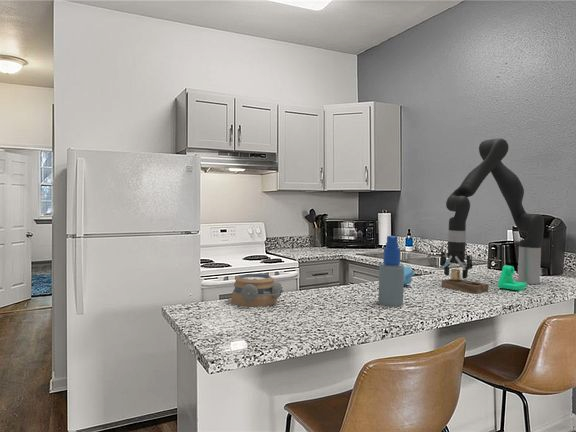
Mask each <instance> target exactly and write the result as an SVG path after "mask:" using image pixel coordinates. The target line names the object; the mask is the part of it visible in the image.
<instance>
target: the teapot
mask: <svg viewBox="0 0 576 432" xmlns="http://www.w3.org/2000/svg"><path fill="white" fill-rule="evenodd" d="M381 263H383V262H381ZM400 264H402V263H401V262H400ZM415 274H416V272H415V271H414V270H412V268H411V266H410V265H409V266H408V265H404V287H407V286H409V285H408V284H411V283H412V280H413V279H412V277H413V276H414V275H415Z"/></svg>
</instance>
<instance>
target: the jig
mask: <svg viewBox="0 0 576 432" xmlns="http://www.w3.org/2000/svg"><path fill="white" fill-rule="evenodd" d="M441 288H444V289H449V288H450V289H449V290H454V289H455V290H456V291H459V290H460V291H459V292H464V293H465V292H466V293H470V294H475V295H476V294H477V295H478V294H481V293H487V292H489V283H483V282H478V281H472V280H465V279H461V278H460V282H454V281H451V278H448V279H443V280H441ZM455 290H454V291H455Z"/></svg>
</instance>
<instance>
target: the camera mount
mask: <svg viewBox="0 0 576 432" xmlns="http://www.w3.org/2000/svg"><path fill="white" fill-rule="evenodd" d="M501 269H502V270H501V273H500V276H499V279H498V282H497V288H501V289H507V290H511V291H518V292H520V291H525V288H527V287H528V284H527V283H522V282H518V281H515V280H514V278H513V276H514V274H515V267H514V265H508V264H504V265H503V266H502V268H501Z"/></svg>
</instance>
